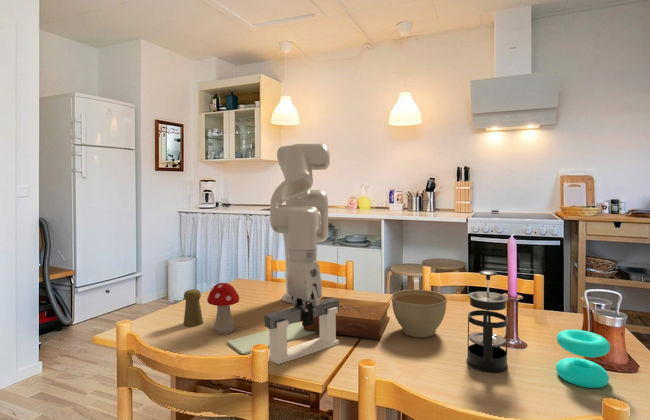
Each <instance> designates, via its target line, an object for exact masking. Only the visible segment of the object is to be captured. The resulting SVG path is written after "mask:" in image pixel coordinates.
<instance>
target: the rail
mask: <svg viewBox="0 0 650 420" xmlns="http://www.w3.org/2000/svg"><path fill="white" fill-rule="evenodd" d="M334 298H335V297H334ZM334 298H329V299H325V300H321V301H320V304H319V305H317V306H315V309H314V310H313V318H314V317H318V316H321V315H325V314H327V309H330V308H333V307H337V308H338V311H339V300H337V299H334ZM308 304H309V303H307V305H308ZM302 311H304V309H303V305H301V306H297V307H293V306H292V307H289V308H286V309H281V310H277V311H274V312H273V311H272V312H269V313H264V316H263V317H264V318H263V320H264V327H265V328H267V329H268V330H269V329H274V328H277V324H276V323H277V322H281V321H284V320H288V323H289V324H292V323H296V322H299V323H301V322H302ZM300 321H301V322H300Z"/></svg>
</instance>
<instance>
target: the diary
mask: <svg viewBox="0 0 650 420" xmlns="http://www.w3.org/2000/svg"><path fill="white" fill-rule="evenodd" d="M329 298H334V299H337V300H339V311H338V313H336V335H341V336H348V337H350V336H351V337H356V338H357V337H358V338H364V339H374V340H381V339H382V336H383V334H384V332H385V330H386V328H387V326H388V324H389V322H390V319H391V318H390V316H388V310H389V308H390V306H391V303H390V302H385V301H376V300H375V301H374V300H372V301H371V300H365V299H353V298H342V297H330V296H321V298H319V301H321V300H325V299H329ZM304 330H308V331H316V332H317V333H318V332H319V316H318V317H314V318H313V324H312V325H309V326H306V327H304Z"/></svg>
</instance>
